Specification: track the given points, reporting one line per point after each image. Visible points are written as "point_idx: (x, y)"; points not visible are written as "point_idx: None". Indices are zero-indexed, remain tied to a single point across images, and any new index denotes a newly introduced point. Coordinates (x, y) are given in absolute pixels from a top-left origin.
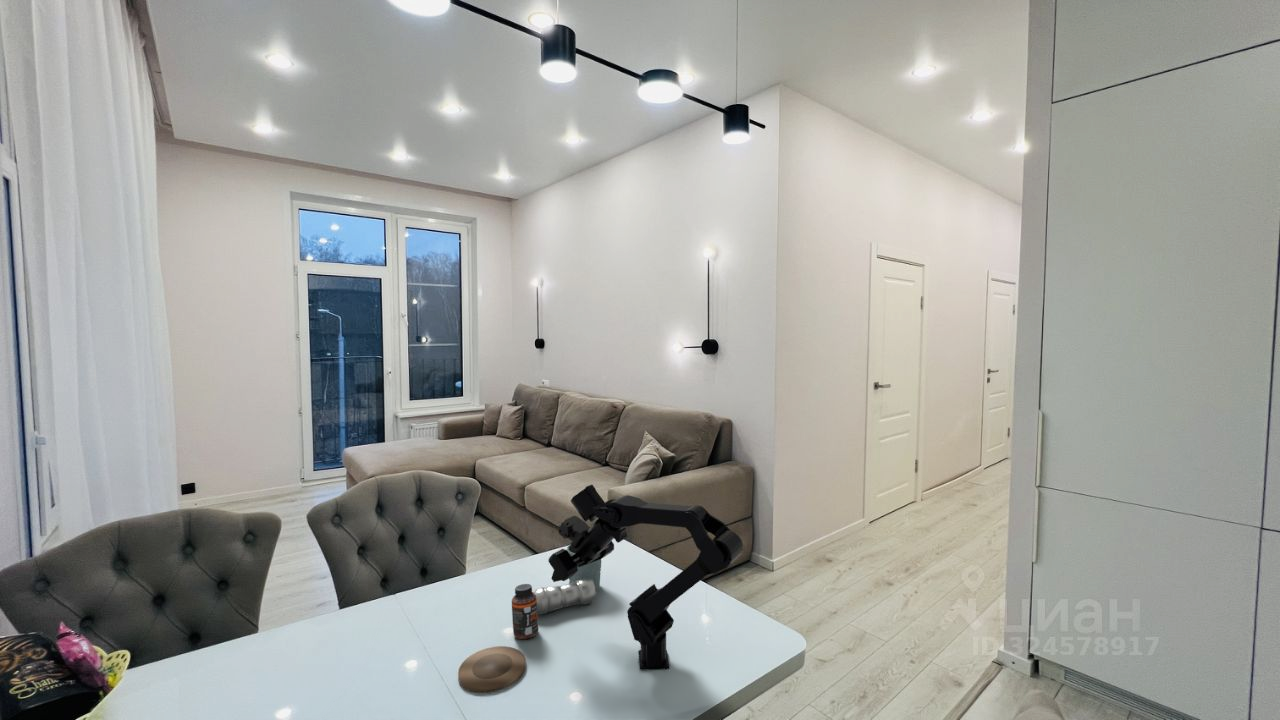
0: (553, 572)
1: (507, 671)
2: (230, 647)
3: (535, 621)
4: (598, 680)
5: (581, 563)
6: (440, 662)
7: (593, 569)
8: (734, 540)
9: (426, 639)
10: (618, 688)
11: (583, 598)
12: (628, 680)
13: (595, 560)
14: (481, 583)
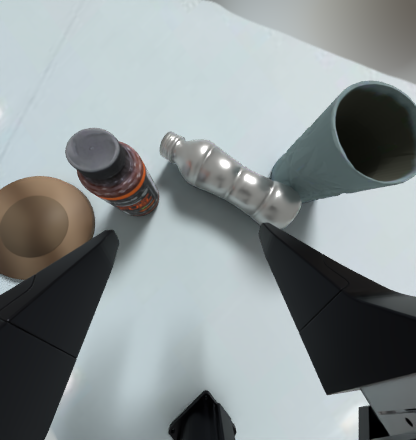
0: (57, 262)
1: (36, 257)
2: None
3: (134, 210)
4: (112, 384)
5: (269, 250)
6: (16, 147)
7: (328, 192)
8: None
9: (47, 85)
10: (114, 427)
11: (254, 219)
12: (139, 426)
13: (306, 345)
14: (205, 35)
